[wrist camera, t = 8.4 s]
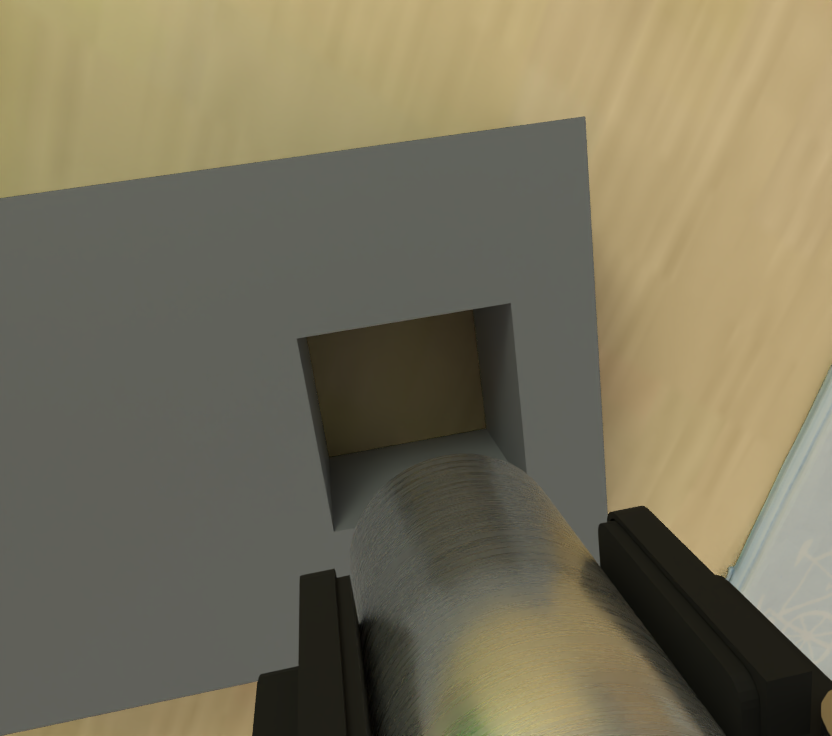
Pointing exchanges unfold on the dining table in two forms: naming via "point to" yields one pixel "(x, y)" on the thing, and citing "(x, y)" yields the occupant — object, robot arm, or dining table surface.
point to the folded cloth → (797, 541)
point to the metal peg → (500, 617)
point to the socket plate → (259, 393)
